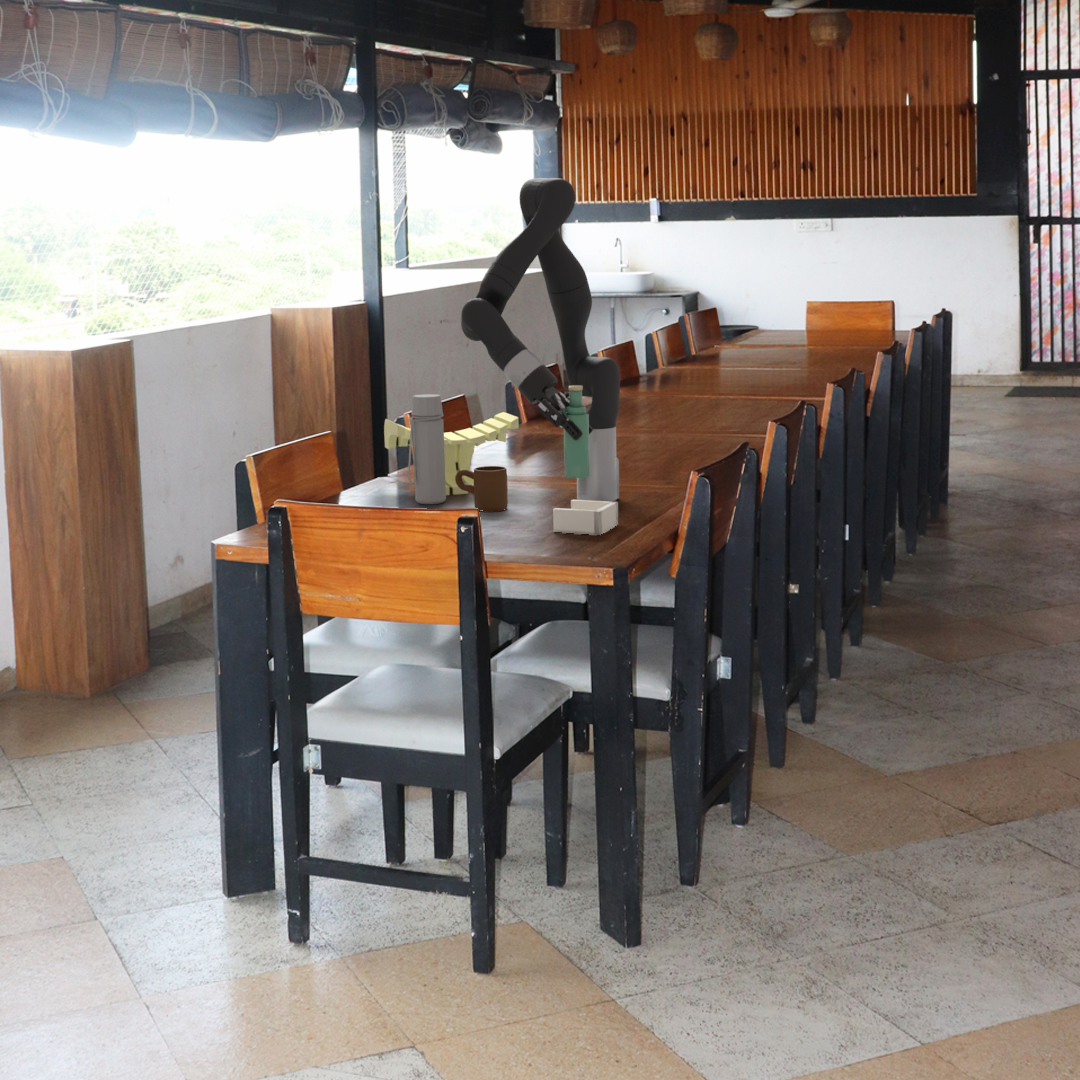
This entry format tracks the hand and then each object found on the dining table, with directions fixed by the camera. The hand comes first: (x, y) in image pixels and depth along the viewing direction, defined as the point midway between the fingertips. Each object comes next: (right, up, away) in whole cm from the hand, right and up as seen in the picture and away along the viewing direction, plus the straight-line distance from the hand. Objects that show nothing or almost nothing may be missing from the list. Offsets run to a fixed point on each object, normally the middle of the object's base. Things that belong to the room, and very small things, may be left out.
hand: (584, 435), depth 281 cm
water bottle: (-36, -13, +38) cm, 53 cm away
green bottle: (-2, -8, +3) cm, 9 cm away
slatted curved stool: (-31, -9, +56) cm, 64 cm away
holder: (0, -19, +4) cm, 20 cm away
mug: (-22, -15, +28) cm, 39 cm away
